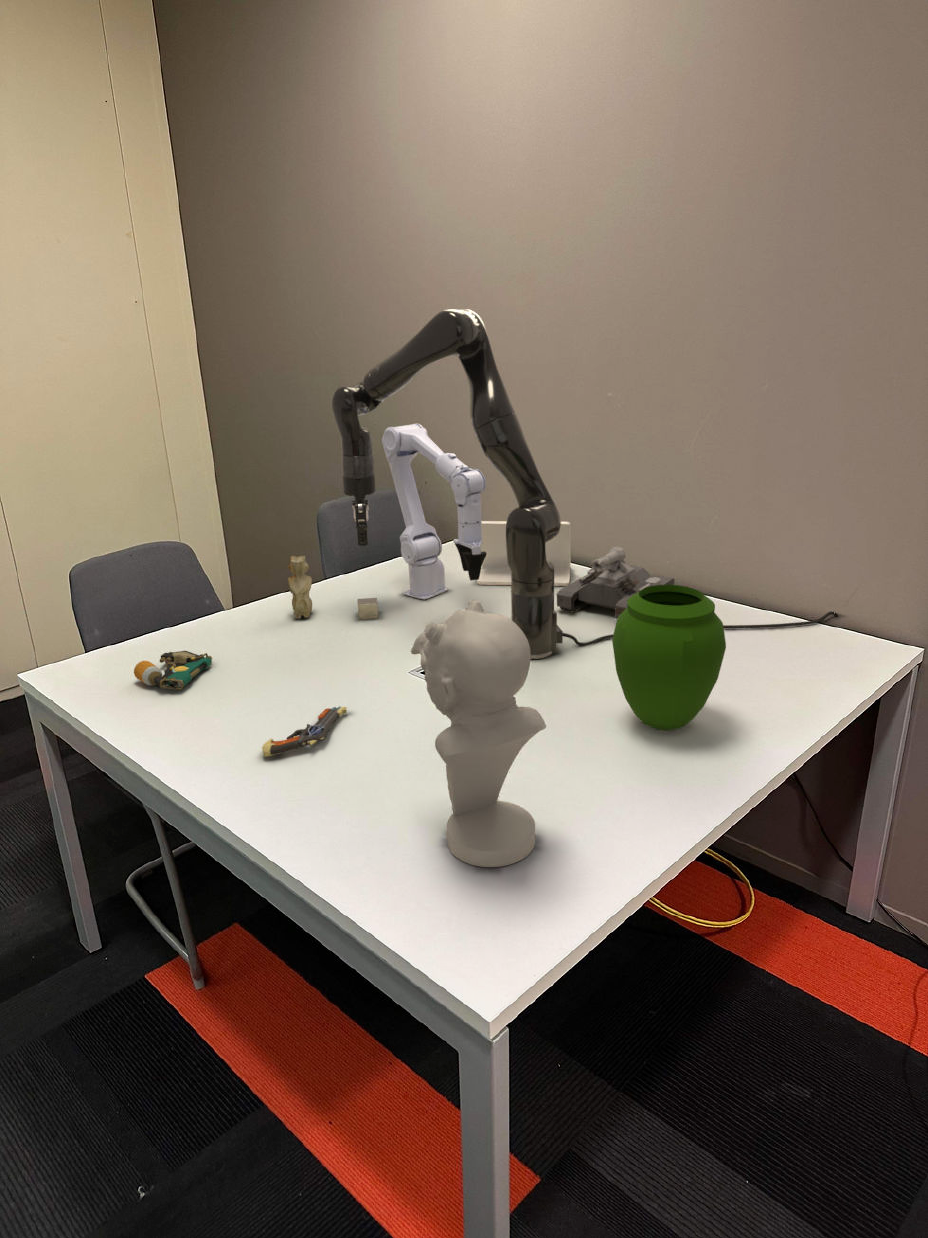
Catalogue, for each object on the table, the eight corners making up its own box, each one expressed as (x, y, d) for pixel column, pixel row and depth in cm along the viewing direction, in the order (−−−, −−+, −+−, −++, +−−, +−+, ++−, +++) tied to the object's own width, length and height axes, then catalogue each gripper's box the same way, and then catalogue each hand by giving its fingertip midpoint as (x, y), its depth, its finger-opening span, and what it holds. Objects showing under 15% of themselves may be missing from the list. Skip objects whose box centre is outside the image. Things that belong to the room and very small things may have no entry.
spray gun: (177, 659, 191) (231, 671, 185) (120, 684, 176) (176, 698, 171) (176, 641, 190) (230, 653, 184) (118, 665, 175) (174, 678, 169)
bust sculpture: (481, 772, 140) (476, 569, 128) (565, 848, 120) (569, 617, 108) (392, 800, 134) (378, 588, 121) (465, 886, 114) (457, 642, 101)
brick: (358, 614, 214) (357, 598, 212) (377, 612, 214) (376, 597, 213) (358, 620, 210) (357, 604, 208) (378, 618, 210) (377, 603, 209)
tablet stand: (569, 585, 229) (570, 524, 223) (476, 584, 232) (475, 523, 226) (570, 566, 246) (571, 508, 240) (484, 564, 249) (483, 507, 243)
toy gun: (257, 746, 146) (311, 744, 144) (298, 704, 164) (347, 701, 161) (260, 761, 146) (314, 759, 144) (300, 717, 164) (349, 715, 162)
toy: (603, 584, 229) (605, 530, 224) (673, 597, 218) (677, 540, 213) (555, 612, 210) (556, 553, 205) (630, 627, 199) (633, 566, 194)
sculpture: (316, 609, 217) (311, 553, 212) (313, 619, 210) (307, 561, 205) (293, 610, 217) (287, 554, 211) (289, 620, 210) (283, 562, 205)
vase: (732, 711, 158) (744, 587, 150) (698, 758, 143) (709, 622, 134) (633, 689, 168) (638, 571, 159) (591, 730, 153) (595, 602, 144)
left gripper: (447, 515, 211) (449, 567, 216) (459, 529, 198) (461, 585, 203) (475, 513, 213) (476, 565, 217) (489, 527, 199) (490, 582, 204)
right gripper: (342, 468, 205) (347, 533, 211) (341, 480, 192) (346, 549, 197) (373, 466, 206) (377, 532, 211) (375, 478, 192) (379, 547, 198)
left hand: (471, 574), depth 210 cm, fingers open, 7 cm apart
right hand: (362, 540), depth 204 cm, fingers open, 8 cm apart
